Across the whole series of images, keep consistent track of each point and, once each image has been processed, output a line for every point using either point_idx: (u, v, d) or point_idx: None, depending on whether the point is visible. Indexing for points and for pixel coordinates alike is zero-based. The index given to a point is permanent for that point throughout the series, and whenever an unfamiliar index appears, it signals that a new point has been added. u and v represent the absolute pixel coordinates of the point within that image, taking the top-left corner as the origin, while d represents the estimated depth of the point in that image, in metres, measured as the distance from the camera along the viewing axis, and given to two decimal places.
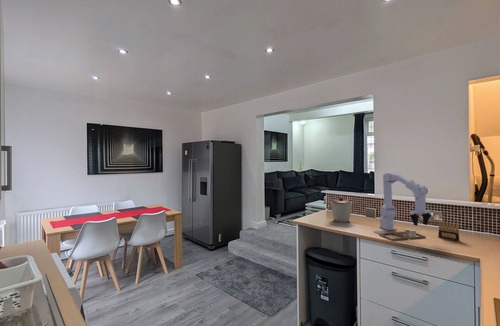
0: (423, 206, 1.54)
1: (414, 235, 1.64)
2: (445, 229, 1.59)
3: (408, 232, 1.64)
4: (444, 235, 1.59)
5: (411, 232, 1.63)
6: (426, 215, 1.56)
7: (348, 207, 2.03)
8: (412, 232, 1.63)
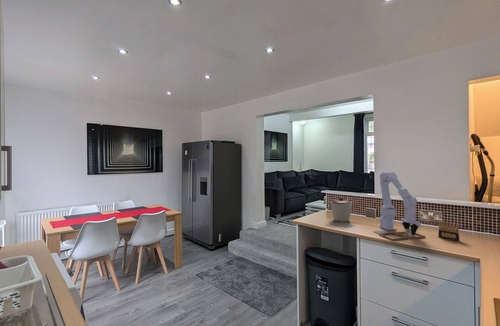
0: (406, 215, 1.65)
1: (414, 235, 1.64)
2: (445, 229, 1.59)
3: (408, 232, 1.64)
4: (444, 235, 1.59)
5: None
6: None
7: (348, 207, 2.03)
8: None
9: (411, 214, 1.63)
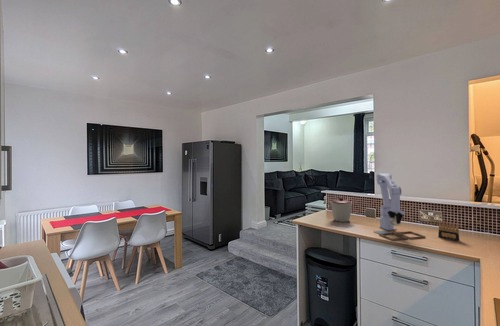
0: (391, 205, 1.70)
1: None
2: (445, 229, 1.59)
3: (393, 221, 1.69)
4: (444, 235, 1.59)
5: None
6: None
7: (348, 207, 2.03)
8: None
9: (394, 203, 1.68)
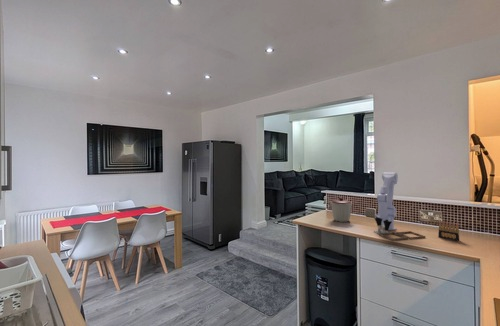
0: (379, 211, 1.73)
1: (386, 231, 1.71)
2: (445, 229, 1.59)
3: (381, 228, 1.72)
4: (444, 235, 1.59)
5: (383, 228, 1.71)
6: None
7: (348, 207, 2.03)
8: (384, 228, 1.71)
9: (379, 209, 1.73)
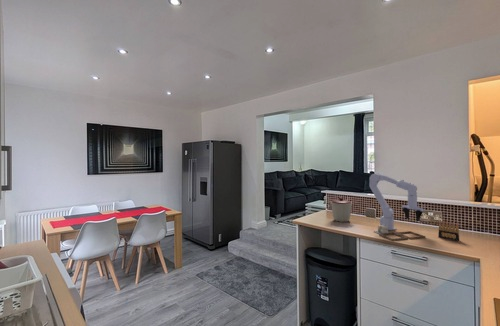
0: (409, 202, 1.74)
1: (386, 231, 1.71)
2: (445, 229, 1.59)
3: (381, 228, 1.72)
4: (444, 235, 1.59)
5: (383, 228, 1.71)
6: None
7: (348, 207, 2.03)
8: (384, 228, 1.71)
9: (416, 200, 1.71)
